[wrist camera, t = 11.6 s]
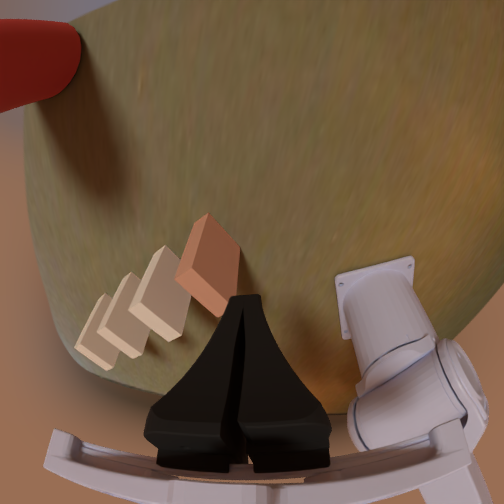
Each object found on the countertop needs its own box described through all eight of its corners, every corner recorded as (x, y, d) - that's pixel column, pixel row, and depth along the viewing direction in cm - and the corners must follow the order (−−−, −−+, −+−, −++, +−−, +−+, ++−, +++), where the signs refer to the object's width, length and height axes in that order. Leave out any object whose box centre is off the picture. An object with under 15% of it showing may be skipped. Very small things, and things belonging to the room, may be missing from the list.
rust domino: (208, 212, 22) (191, 267, 16) (240, 247, 24) (235, 308, 18) (194, 222, 23) (173, 279, 17) (226, 256, 24) (217, 317, 19)
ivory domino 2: (131, 271, 26) (104, 326, 20) (161, 297, 27) (142, 354, 22) (123, 278, 26) (96, 332, 20) (152, 303, 28) (132, 358, 22)
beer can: (87, 86, 16) (-38, 122, 6) (29, 106, 16) (-79, 155, 6) (85, 11, 12) (-35, -1, 2) (25, 39, 12) (-85, 58, 2)
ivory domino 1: (105, 292, 27) (80, 343, 21) (133, 315, 29) (113, 367, 23) (99, 298, 28) (74, 347, 22) (125, 320, 30) (106, 370, 24)
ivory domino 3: (165, 244, 24) (140, 302, 18) (196, 275, 26) (181, 335, 20) (154, 253, 24) (128, 310, 18) (185, 282, 26) (168, 341, 20)
